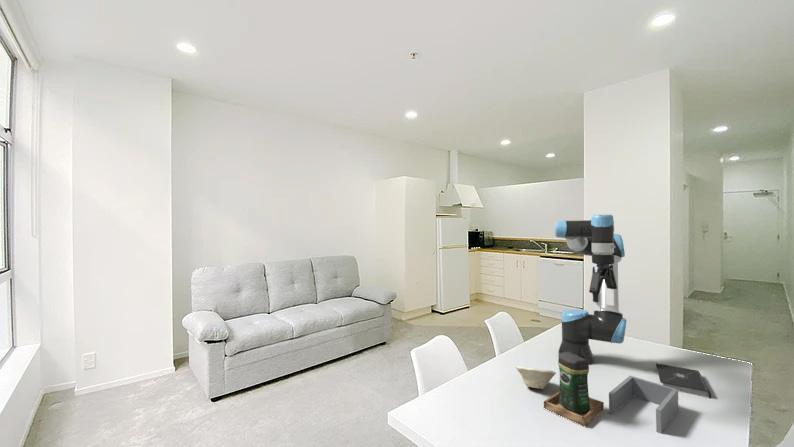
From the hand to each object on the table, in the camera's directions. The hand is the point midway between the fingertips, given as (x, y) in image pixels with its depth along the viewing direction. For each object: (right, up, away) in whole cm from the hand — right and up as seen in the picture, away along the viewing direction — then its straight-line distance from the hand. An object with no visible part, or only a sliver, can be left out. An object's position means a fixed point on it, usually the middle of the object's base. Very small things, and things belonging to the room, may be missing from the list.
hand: (603, 307), depth 130 cm
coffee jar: (-19, -32, -13) cm, 39 cm away
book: (+36, -33, +6) cm, 49 cm away
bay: (+4, -32, -15) cm, 36 cm away
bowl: (-26, -33, +3) cm, 42 cm away
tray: (-19, -33, -13) cm, 40 cm away
